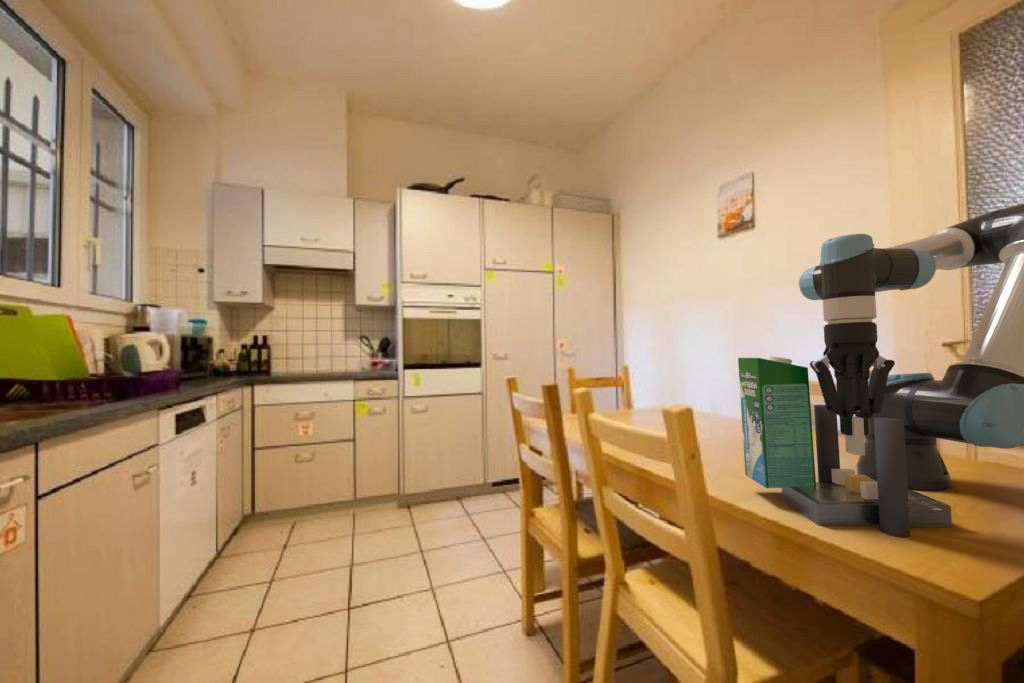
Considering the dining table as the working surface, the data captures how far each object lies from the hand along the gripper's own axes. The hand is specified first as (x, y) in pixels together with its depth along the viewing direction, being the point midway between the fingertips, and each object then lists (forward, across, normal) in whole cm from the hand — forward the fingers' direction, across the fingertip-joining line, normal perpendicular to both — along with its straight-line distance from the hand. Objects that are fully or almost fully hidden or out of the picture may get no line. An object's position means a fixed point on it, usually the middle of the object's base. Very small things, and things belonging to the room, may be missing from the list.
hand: (855, 453), depth 76 cm
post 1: (+11, 0, -8) cm, 13 cm away
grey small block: (+7, 0, -4) cm, 8 cm away
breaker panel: (+11, 0, 0) cm, 11 cm away
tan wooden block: (+7, 0, 0) cm, 7 cm away
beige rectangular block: (+7, 0, +4) cm, 8 cm away
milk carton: (+8, +10, -8) cm, 15 cm away
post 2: (+11, 0, +8) cm, 13 cm away
